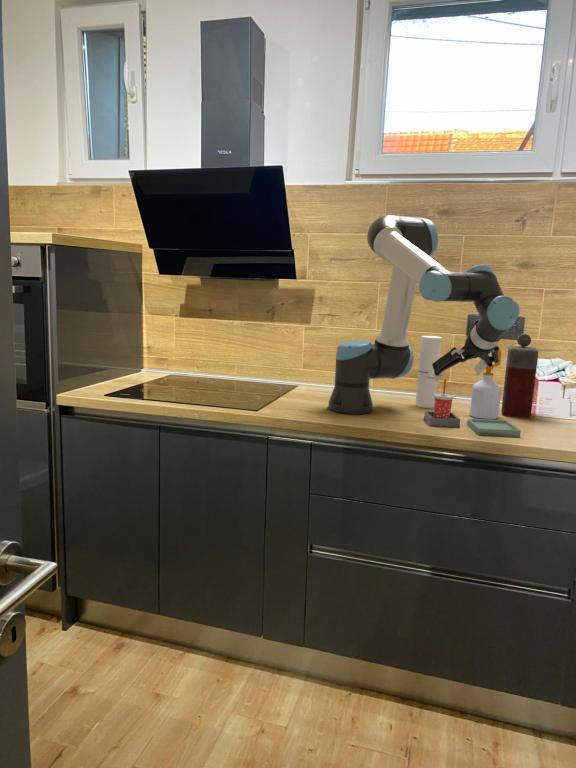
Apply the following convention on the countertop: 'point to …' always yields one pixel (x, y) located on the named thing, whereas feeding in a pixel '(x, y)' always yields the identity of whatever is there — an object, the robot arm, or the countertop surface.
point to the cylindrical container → (427, 371)
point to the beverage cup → (442, 404)
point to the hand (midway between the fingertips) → (456, 375)
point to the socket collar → (441, 420)
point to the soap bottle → (486, 395)
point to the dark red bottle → (520, 379)
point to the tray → (493, 427)
